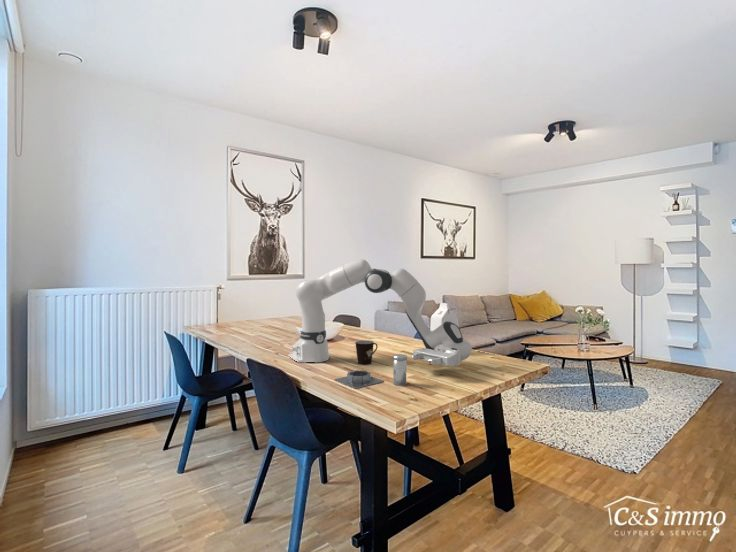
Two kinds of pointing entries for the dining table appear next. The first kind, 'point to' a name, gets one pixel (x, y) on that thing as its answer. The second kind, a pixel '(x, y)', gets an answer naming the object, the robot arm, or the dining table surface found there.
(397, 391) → the dining table surface
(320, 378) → the dining table surface
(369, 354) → the coffee mug
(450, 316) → the milk
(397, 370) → the grey metal cylinder
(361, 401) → the dining table surface
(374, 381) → the duct collar
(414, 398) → the dining table surface
